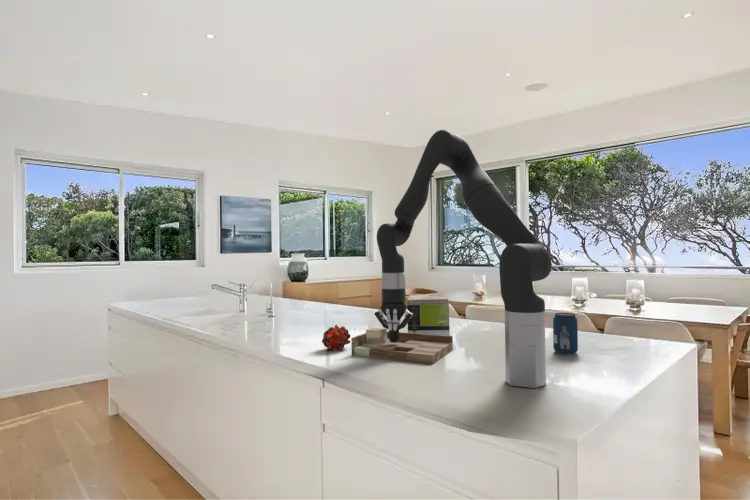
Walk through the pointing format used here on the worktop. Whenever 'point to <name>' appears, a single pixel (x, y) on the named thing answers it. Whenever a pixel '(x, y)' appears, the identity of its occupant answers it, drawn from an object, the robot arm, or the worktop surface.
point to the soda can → (565, 333)
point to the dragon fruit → (336, 338)
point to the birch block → (376, 336)
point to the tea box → (429, 315)
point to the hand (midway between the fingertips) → (394, 342)
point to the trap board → (405, 348)
